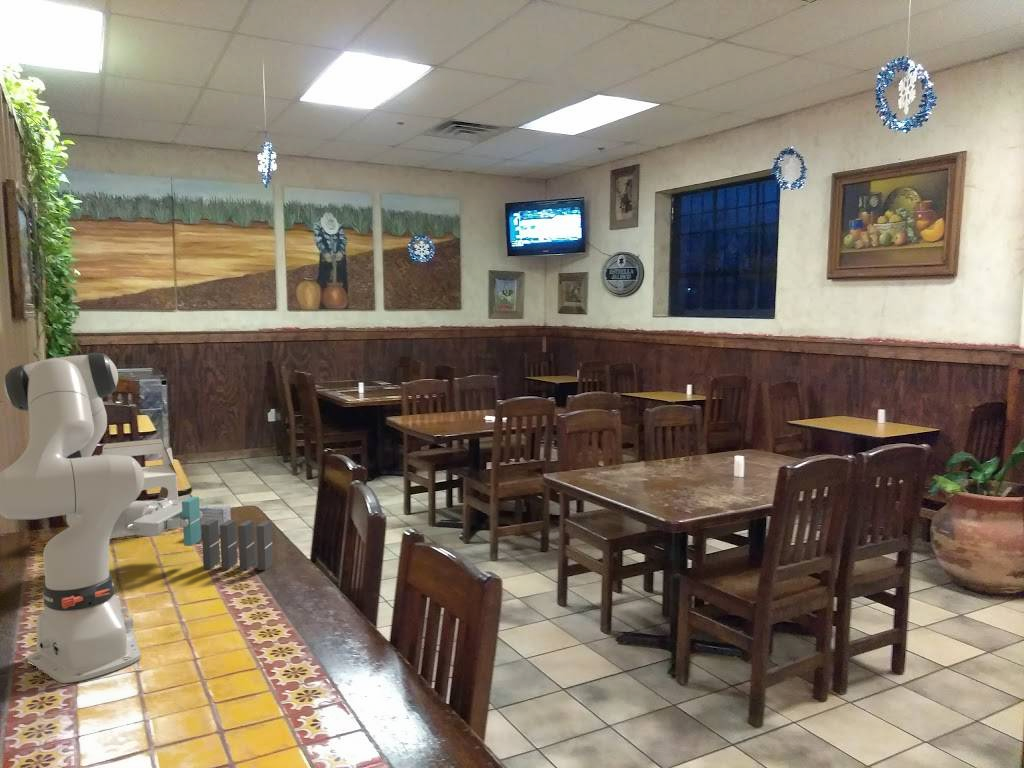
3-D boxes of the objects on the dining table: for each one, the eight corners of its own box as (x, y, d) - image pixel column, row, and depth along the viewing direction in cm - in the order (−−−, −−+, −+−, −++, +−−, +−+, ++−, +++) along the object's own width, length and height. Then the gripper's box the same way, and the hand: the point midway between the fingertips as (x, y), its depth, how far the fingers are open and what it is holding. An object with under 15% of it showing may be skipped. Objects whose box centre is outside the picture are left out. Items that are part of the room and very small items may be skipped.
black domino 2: (237, 563, 194) (235, 519, 193) (229, 569, 189) (226, 525, 188) (230, 562, 194) (228, 519, 193) (221, 569, 189) (219, 525, 188)
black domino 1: (220, 562, 194) (218, 519, 193) (210, 569, 189) (208, 525, 188) (213, 562, 195) (210, 519, 193) (203, 568, 190) (201, 524, 188)
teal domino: (201, 539, 194) (198, 496, 193) (191, 545, 190) (189, 501, 188) (194, 539, 195) (191, 496, 193) (184, 545, 190) (181, 501, 188)
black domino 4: (273, 564, 193) (271, 520, 192) (265, 570, 188) (263, 526, 187) (266, 563, 193) (264, 520, 192) (258, 570, 188) (256, 526, 187)
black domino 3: (255, 563, 194) (253, 520, 192) (247, 570, 189) (245, 525, 187) (248, 563, 194) (246, 520, 193) (239, 569, 189) (237, 525, 188)
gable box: (99, 541, 213) (93, 448, 210) (95, 530, 224) (89, 441, 221) (180, 528, 226) (175, 440, 223) (173, 518, 237) (168, 434, 234)
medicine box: (232, 532, 221) (230, 504, 220) (224, 536, 217) (223, 508, 216) (207, 531, 222) (206, 504, 221) (200, 536, 217) (198, 508, 217)
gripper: (120, 517, 182) (172, 518, 181) (165, 496, 202) (212, 497, 201) (121, 541, 183) (173, 543, 181) (167, 517, 203) (214, 519, 202)
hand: (194, 518), depth 191 cm, fingers closed on teal domino, 5 cm apart
